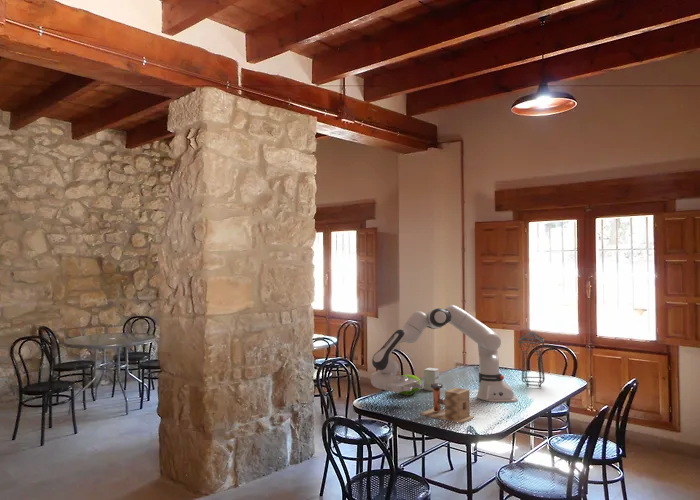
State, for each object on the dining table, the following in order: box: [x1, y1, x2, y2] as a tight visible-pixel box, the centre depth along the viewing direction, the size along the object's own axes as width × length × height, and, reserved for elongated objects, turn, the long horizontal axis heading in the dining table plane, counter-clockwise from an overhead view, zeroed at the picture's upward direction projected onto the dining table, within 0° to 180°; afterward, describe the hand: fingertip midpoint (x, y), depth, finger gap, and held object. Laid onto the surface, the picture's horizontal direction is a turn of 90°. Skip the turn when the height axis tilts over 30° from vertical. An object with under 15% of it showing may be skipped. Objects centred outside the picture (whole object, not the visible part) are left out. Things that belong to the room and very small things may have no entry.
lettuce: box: [398, 374, 422, 396], centre depth 305 cm, size 14×20×12 cm
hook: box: [431, 382, 464, 411], centre depth 258 cm, size 18×6×13 cm, turn 48°
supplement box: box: [423, 367, 440, 392], centre depth 316 cm, size 7×7×13 cm
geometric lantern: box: [518, 331, 546, 388], centre depth 323 cm, size 16×16×35 cm
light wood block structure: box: [420, 387, 475, 424], centre depth 258 cm, size 24×12×14 cm, turn 48°
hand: (416, 388), depth 271 cm, fingers open, 8 cm apart
